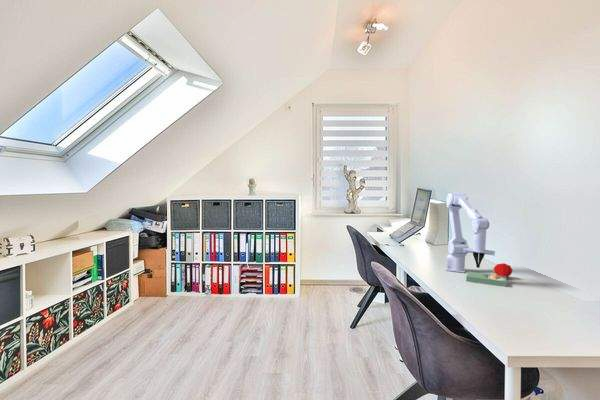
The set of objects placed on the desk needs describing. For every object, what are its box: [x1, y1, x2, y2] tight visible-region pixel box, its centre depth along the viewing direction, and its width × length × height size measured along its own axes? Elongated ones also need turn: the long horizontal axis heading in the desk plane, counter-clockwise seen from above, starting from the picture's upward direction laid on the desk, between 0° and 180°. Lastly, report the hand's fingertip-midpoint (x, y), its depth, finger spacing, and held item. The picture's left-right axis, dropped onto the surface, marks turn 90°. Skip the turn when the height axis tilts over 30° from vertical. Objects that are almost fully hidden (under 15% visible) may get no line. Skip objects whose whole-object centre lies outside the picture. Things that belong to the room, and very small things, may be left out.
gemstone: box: [493, 262, 513, 279], centre depth 192 cm, size 9×9×10 cm
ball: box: [490, 273, 498, 279], centre depth 185 cm, size 4×4×4 cm
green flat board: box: [465, 271, 508, 288], centre depth 187 cm, size 18×11×2 cm, turn 62°
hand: (478, 267), depth 189 cm, fingers closed
